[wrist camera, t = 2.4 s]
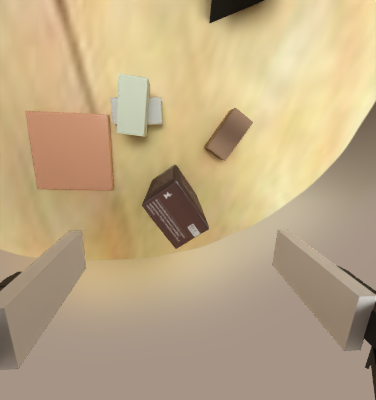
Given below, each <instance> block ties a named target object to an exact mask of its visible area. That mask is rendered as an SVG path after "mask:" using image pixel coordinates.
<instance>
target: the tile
mask: <svg viewBox="0 0 376 400" xmlns="http://www.w3.org/2000/svg"><path fill="white" fill-rule="evenodd" d="M25 112H26V119H27V125H28V131H29V138H30V144H31V150H32V157H33V163H34V169H35V176H36V182H37V188H38V189H83V190H112V189H114V184H113V167H112V151H111V134H110V118H109V115H104V114H81V113H58V112H36V111H25Z"/></svg>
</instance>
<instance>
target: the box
mask: <svg viewBox="0 0 376 400" xmlns="http://www.w3.org/2000/svg"><path fill="white" fill-rule="evenodd" d="M142 206H143V207H144V209H145V210H146V211H147V213H148V214H149V215H150V217H151V218H152V219H153V221H154V222H155V223H156V224H157V226H158V227H159V228H160V229H161V231H162V232H163V233H164V235H165V236H166V237H167V238H168V240H169V241H170V242H171V243H172V245H173V246H174V247H175V248H176V249H177V248H178V247H180V246H182V245H183V244H185V243H187V242H188V241H190V240H191V239H193V238H194V237H196V236H198V235H199V234H201V233H203V232H205V231H206V230H208V229H209V226H208V224H207V221H206V218H205V216H204V213H203V211H202V208H201V205H200V203H199V200H198V198H197V195H196V194H195V192H194V191H193V189H192V188H191V186H190V185H189V183H188V182H187V180H186V179H185V177H184V176H183V174H182V173H181V171H180V170H179V168H178V167H177V166H176V165H174V166H173V167H171V168H170V169H168V170H167V171H165V172H164V173H162V174H161V175H159V176H158V177H156V178H155V179H153V181H152V183H151V185H150V188H149V190H148V192H147V195H146V197H145V199H144V201H143V204H142Z"/></svg>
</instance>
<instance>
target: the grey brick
mask: <svg viewBox="0 0 376 400" xmlns="http://www.w3.org/2000/svg"><path fill="white" fill-rule="evenodd" d="M111 107H112V117H113V124H115V125H117V108H118V98H111ZM147 125H163V121H162V101H161V97H154V98H149V109H148V124H147Z"/></svg>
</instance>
